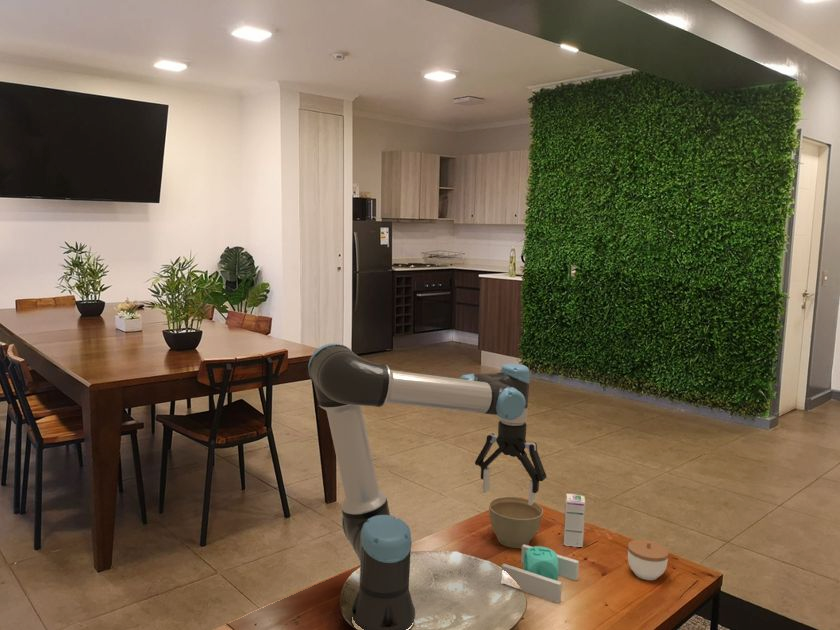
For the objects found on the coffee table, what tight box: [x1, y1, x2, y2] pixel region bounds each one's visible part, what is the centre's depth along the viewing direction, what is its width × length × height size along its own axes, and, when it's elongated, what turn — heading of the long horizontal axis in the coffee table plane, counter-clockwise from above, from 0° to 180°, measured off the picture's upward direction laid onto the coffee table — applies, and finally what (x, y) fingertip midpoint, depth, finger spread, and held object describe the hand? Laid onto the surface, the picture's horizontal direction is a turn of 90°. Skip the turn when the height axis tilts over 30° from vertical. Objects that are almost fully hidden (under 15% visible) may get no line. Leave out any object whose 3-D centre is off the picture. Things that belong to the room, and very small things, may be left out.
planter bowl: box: [488, 496, 544, 549], centre depth 196 cm, size 16×16×11 cm
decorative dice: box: [523, 545, 559, 581], centre depth 174 cm, size 8×8×8 cm
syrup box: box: [563, 493, 586, 548], centre depth 197 cm, size 6×6×14 cm
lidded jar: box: [627, 539, 670, 581], centre depth 180 cm, size 11×11×9 cm
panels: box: [501, 544, 580, 604], centre depth 174 cm, size 16×15×5 cm
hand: (508, 497), depth 178 cm, fingers open, 13 cm apart
